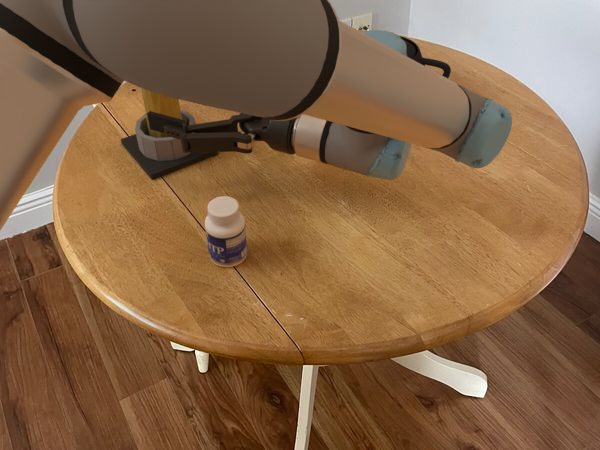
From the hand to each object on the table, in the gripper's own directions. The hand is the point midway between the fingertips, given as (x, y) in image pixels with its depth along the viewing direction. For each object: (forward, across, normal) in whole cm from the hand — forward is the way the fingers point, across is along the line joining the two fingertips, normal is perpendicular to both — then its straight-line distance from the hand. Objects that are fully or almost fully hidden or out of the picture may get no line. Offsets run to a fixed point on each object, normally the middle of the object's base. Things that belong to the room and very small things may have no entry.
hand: (175, 97), depth 90 cm
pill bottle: (-18, -17, -11) cm, 27 cm away
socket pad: (+3, 0, -10) cm, 11 cm away
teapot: (-23, +31, -11) cm, 40 cm away
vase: (+3, 0, -10) cm, 10 cm away
